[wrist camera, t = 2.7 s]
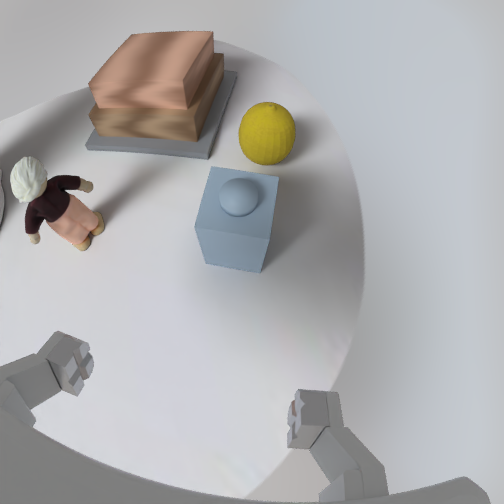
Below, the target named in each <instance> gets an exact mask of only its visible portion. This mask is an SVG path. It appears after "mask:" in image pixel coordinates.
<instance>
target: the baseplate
mask: <svg viewBox="0 0 504 504" xmlns="http://www.w3.org/2000/svg"><path fill="white" fill-rule="evenodd" d="M236 78H237V72H234V71H224V77H223V80H222V82H221V84H220V87H219V89H218V91H217V94H216V96H215V99H214V101H213V103H212V106H211V108H210V111H209V113H208V116H207V118H206V121H205V124H204V126H203V129H202V131H201V134H200V137H199V139H198V142H191V141H180V140H168V139H154V138H137V137H110V136H99V135H98V133H97V131H96V129H94V130H93V132H92V134H91V136H90V137H89V139H88V141H87V143H86V144H85V146H86V148H87V150H99V151H120V152H136V153H149V154H161V155H171V156H181V157H190V158H199V159H207V160H208V158H209V155H210V152H211V148H212V145H213V142H214V139H215V136H216V133H217V130H218V127H219V125H220V122H221V119H222V116H223V113H224V110H225V107H226V105H227V102H228V99H229V96H230V94H231V91H232V88H233V86H234V83H235V80H236Z"/></svg>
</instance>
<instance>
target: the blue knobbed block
mask: <svg viewBox="0 0 504 504" xmlns="http://www.w3.org/2000/svg"><path fill="white" fill-rule="evenodd" d="M278 181H279V177H276V176H270V175H265V174H259V173H253V172H246V171H240V170H233V169H227V168H220V167H212V166H211V170H210V173H209V176H208V180H207V183H206V187H205V190H204V194H203V197H202V201H201V204H200V208H199V212H198V215H197V219H196V223H195V226H194V227H195V231H196V234H197V237H198V240H199V244H200V247H201V250H202V253H203V256H204V259H205V262H206V264H210V265H216V266H221V267H227V268H233V269H238V270H244V271H250V272H256V273H260V272H261V268H262V265H263V261H264V258H265V255H266V251H267V248H268V244H269V241H270V235H271V228H272V222H273V215H274V208H275V202H276V195H277V188H278Z"/></svg>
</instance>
